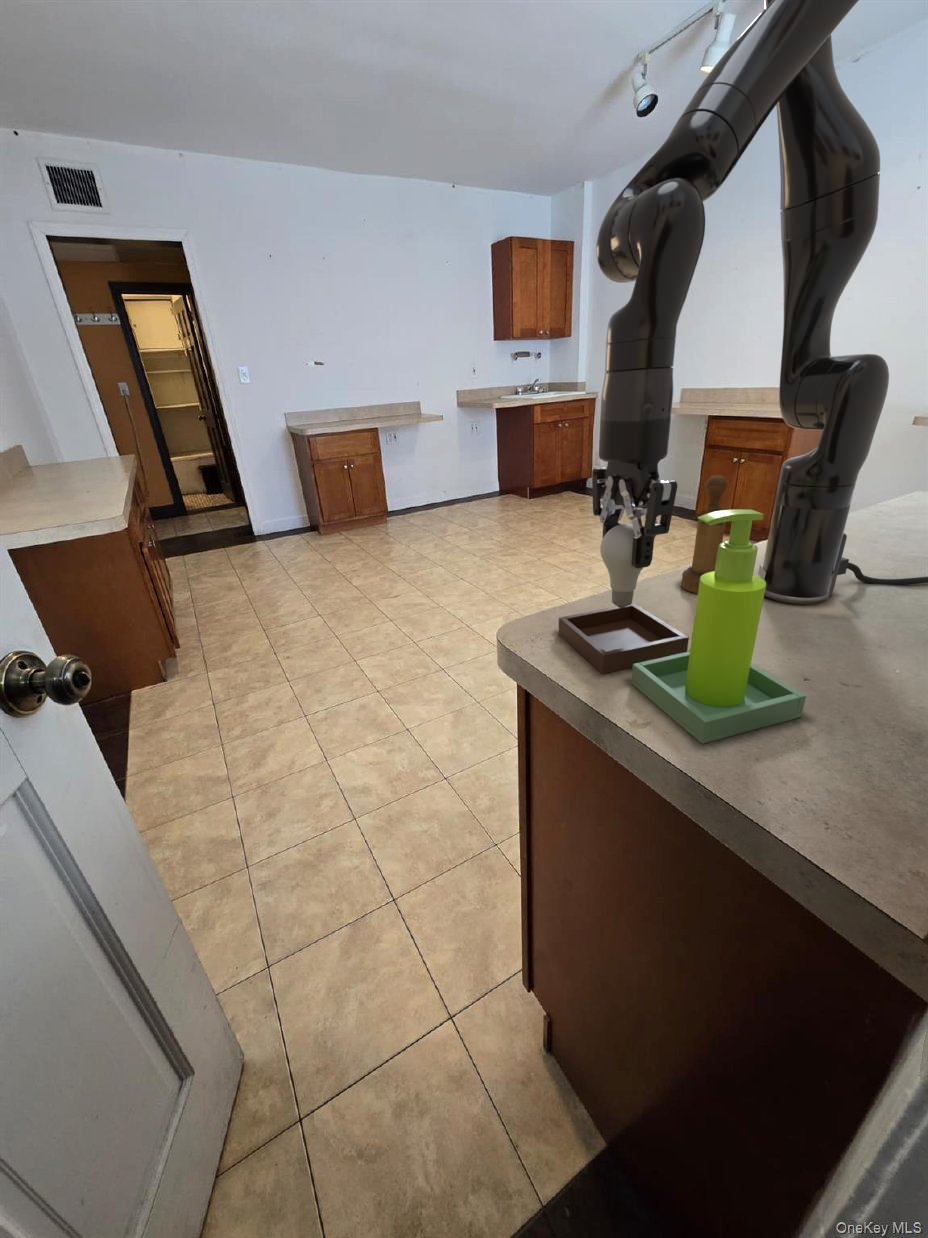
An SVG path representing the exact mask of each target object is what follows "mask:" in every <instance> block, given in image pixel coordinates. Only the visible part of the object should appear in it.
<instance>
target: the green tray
mask: <svg viewBox="0 0 928 1238" xmlns="http://www.w3.org/2000/svg"><path fill="white" fill-rule="evenodd" d="M689 655H690V650H689V651H687V652H685V653H680V654H676V655H671V656H667V657H662V658H658V659H653V660H649V661H644V662H640V663H635V664H633V667H632V670H631V685H632V686H634V687H635V688H636V689H638V690H639V691H640V692H641V693H642V694H643V695H644V696H645V697H647V699H649V700H650V701H651V702H653V704H654V705H656V706H657V707H658V708H659V709H661V710H662V712H664V713H665V714H667V715H668V716H669V717H670V718H671V719H672V720H673V721H674V722H676V723H677V724H678V725H679V726H680V727H681V728H683V729H684V731H686V732H687V733H688V734H690V735H691V736H692V737H693V738H694V739H695V740H697V741H698V743H700V744H706V743H711V742H714V741H715V742H716V741H718V740H721V739H726V738H729V737H732V736H736V735H740V734H744V733H748V732H751V731H755V730H758V729H762V728H765V727H769V726H773V725H776V724H780V723H784V722H787V721H791V720H795V719H798V718H801V717H802V715H803V711H804V707H805V703H806V700H807V695H806V694H804V693H803V692H801V691H800V690H798V689H796V688H794V687H793V686H791V685H790V684H788V683H786V682H784V681H783V680H781V679H779V678H777V677H776V676H774V675H772V674H771V673H769V672H767V671H766V670H764V669H762V668H760V667H759V666H757V665H755V664H754V663H752V662H751V665H750V671H749V676H748V681H747V686H746V691H745V696H744V700H743V701H742V702H741V703H740V704H738V705H736V706H731V707H715V706H710V705H706V704H703V703H700V702H698V701H696V700H695V699H693V698H692V697H690V696H689V695H688V694H687V692H686V690H685V685H686V677H687V670H688V663H689Z"/></svg>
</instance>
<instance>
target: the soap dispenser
mask: <svg viewBox="0 0 928 1238" xmlns="http://www.w3.org/2000/svg"><path fill="white" fill-rule="evenodd" d="M697 519H698V520H700V521H701V522H703V523H706V524H708V525H710V526H711V525H715V524H718V523H722V522H726V523H727V522H729V523H730V522H731V526H730V531H729V532H730V533H729V538H728V539H727V540H725V541H722V543H721V544H719V547H718V553H717V560H716V566H715V571H713V572H708V573H705V574H703V575H702V576H701V577H700V582H699V589H698V593H697V598H696V604H695V605H696V606H695V612H694V619H693V627H692V634H691V640H690V649H689V651H690V655H689V663H688V670H687V677H686V685H685V690H686V692H687V694H688V695H689V696H690V697H692V698H693V699H695V700H696V701H698V702H700V703H703V704H706V705H710V706H715V707H731V706H736V705H738V704H740V703H741V702H742V701H743V700H744V696H745V691H746V686H747V681H748V676H749V671H750V665H751V663H752V660H753V654H754V651H755V645H756V640H757V635H758V629H759V624H760V620H761V619H760V618H761V614H762V608H763V605H764V604H763V603H764V598H765V596H764V594H765V588H766V582H765V581H764V580H763V579H762V578H761V577H760V576H759V575H755V574H754V571H755V566H756V560H757V556H758V551H759V550H758V546H757V545H756V544H753V542H751V541H750V537H751V531H752V526H753V521H763V520H764V513H762V512H759V511H756V510H754V509H746V508H745V509H742V508H741V509H739V508H738V509H735V508H734V509H723V510H722V509H721V511H716V512H711V513H708V514H706V513H705V514H702V515H700V516H697Z"/></svg>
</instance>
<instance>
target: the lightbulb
mask: <svg viewBox="0 0 928 1238" xmlns="http://www.w3.org/2000/svg"><path fill="white" fill-rule="evenodd" d="M602 537H603V536H602ZM634 537H635V535H634V530H633V525H632V523H621V524H620V525H617V526H615V527H613V528H612V529H610V530H609V531H608V532H607V533H606V535H605V536H604V537H603V538H602V539H601V542H600V545H599V546H600V549H599V551H600V556H601V559H602V562H603V563H604V566H605V568H606V570H607V572H608V575H609V581H610V583H609V584H610V585H609V587H610V589H611V603H612V604H613V605H614V606H616V607H617V606H618V607H619V608H625V607H626V606H628V605H630V604H632V603H633V599H634V593H635V590H636V588H637V583H638V579H639V576H640V574H641V572H642V571H643V569H644V568H635V567H633V566H632V551H633V538H634Z"/></svg>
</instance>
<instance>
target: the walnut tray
mask: <svg viewBox="0 0 928 1238" xmlns="http://www.w3.org/2000/svg"><path fill="white" fill-rule="evenodd" d="M558 635H559V636H560V637H561V638H562V639H564V641H566V642H567V643H568V644H569V645H570V646H571V647H572V648H573V649H574V650H576V652H578V653H579V654H580V655H581V656H582V657H583V658H584V659H585V660H586V661H588V663H590V664H591V665H592V666H593V667H595V669H596V670H597V671H599V672H600V674H602V675H604V674H609V673H613V672H618V671H623V670H627V669H631V668H632V669H633V664H635V663H640V662H644V661H649V660H653V659H658V658H662V657H667V656H671V655H676V654H680V653H685V652H688V649H689V640H690V637H689V636H688V635H686V634H685V633H683V632H681V631H680V630H678V629H676V628H675V627H673V626H672V625H670V624H668V623H667V622H665V621H664V620H662V619H660V618H659V617H657V616H656V615H654V614H652V613H651V612H649V611H648V610H646V609H644V608H643V607H641V606H640V605H638V604H636V603H635V602H632V603H631V604H630V605H628V606H626V607H625V608H619V607H618V606H617V605H616V606H613V607H607V608H606V607H605V608H601V609H596V610H591V611H586V612H582V613H576V614H571V615H564V616H560V617H558Z"/></svg>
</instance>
